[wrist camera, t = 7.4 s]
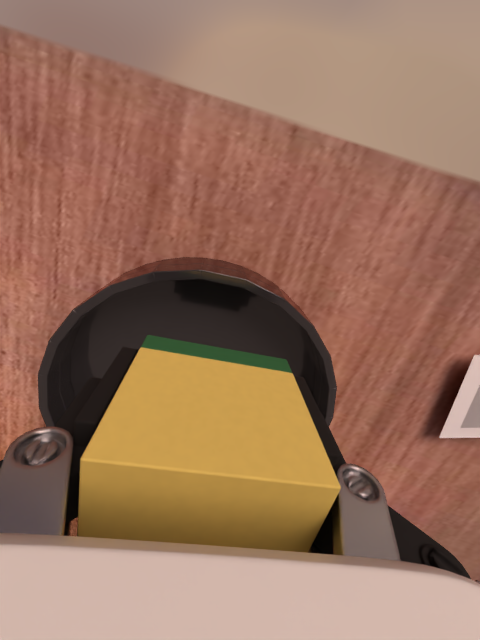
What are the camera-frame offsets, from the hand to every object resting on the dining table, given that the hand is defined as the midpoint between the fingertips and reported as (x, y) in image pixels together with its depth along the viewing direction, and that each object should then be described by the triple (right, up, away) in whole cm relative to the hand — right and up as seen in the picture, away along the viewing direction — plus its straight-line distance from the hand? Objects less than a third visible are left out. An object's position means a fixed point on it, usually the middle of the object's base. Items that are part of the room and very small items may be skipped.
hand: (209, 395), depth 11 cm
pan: (-2, -1, +10) cm, 10 cm away
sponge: (0, 0, 0) cm, 0 cm away
